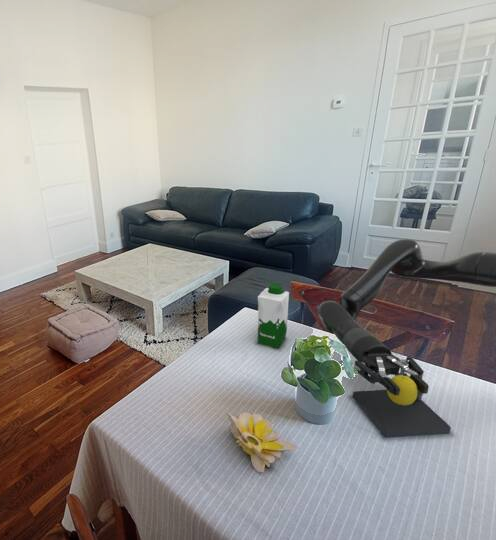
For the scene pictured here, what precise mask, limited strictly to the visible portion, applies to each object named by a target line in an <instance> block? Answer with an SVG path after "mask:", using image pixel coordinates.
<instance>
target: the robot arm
mask: <svg viewBox="0 0 496 540" xmlns="http://www.w3.org/2000/svg"><path fill="white" fill-rule="evenodd" d="M390 273H392V275H395V276H398V277H402V278H410V279H423V280H424V279H425V280H439V281H447V282H454V283H455V282H456V283H463V284H470V285H475V286H482V287H487V288H495V289H496V252H491V251H476V252H471V253H467V254H463V255H461V256H458V257H455V258H453V259H450V260H445V261H441V260H440V261H439V260H429V259H425V258H424V256H423V252H422V250H421V247H420V244H419V243H418V242H417V241H415V240H414V239H410V238H404V239H397V240H395V241H393V242H391V243H390V244H388V245H387V246H386V247H385V248H384V249H383V250H382V251H381V253H380V254H379V255H378V256H377V257H376V259H374V261H373V262H372V264H371V265H370V266H369V267H368V269H367V270H366V271H365V272H364V273H363V274H362V275H361V277H359V278H358V280H356V281H355V282H354V283H353V284H351V285H350V287H348V288H347V289H346V290H344V291H343V292H342V293H341V295H339V302H337V301H335V300H325V301H323V302H321V303H320V304H319V305H318V307H317V310H316V311H317V315H318V318H319V320H320V321H321V323H322V325H323V327H324V329H325V330H326V332H328V333H330V334H334V336H335V337H336V338H337V340H339V342H340V343H341V344H342V345H343V346H344V347H345V349H346V350H347V351H348V353H350V354H351V356H352V357H353V358H354V359H355V360H354V365H353V369H354V368H355V369H356V370H357V371H358V373H357V374H358V375H360V377H362V378H363V379H365V380H366V381H367V382H369V384H371V385H374V384H379V385H380V386H383V388H384V389H387V390H388V391H389V392H390V393H392V394H393V395H399V392H400V388H399V387H398V386H397V385H396V384H395V383H394V382H393V381H392V380H391V377H387V376H389V375H390V376H391V375H393V376H397V375H403V376H407V377H409V378H411V379H412V380H413V381H414V382H415V384H416V386H417V389H418V390H419V391H420V392H421V393H422V395H423V394H424V395H425V394H428V392H429V384H428V383H427V382H426V381H424V379H423V376H424V369H423V368H422V367H421V366H420V365H419V364H418V362H416V360H415V359H414V357H411V356H406V357H405V358H406V359H403V358H399V357H398V356H396V355H393V353H392V352H391V349H390V348H389V347H388V346H387V345H386V344H384V343H383V342H382V341H381V340H380V339H379V338H377V337H376V336H375V335H374V334H373V333H371V332H370V331H368V330H366V329H365V328H364V327H363V326H362V325H361V324H359V323H358V322H357V321H356V319H357V317H358V316H359V314H360V312H361V311H362V310H363V309H364V308H365V307H367V305H369V304H370V303H371V302H372V301H373V300H374V299H375V298H376V297H377V296H378V294H379V293H380V291H381V290H382V288H383V286H384V283H385V282H386V280H387V278H388V276H389V274H390ZM408 374H409V375H408Z"/></svg>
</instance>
